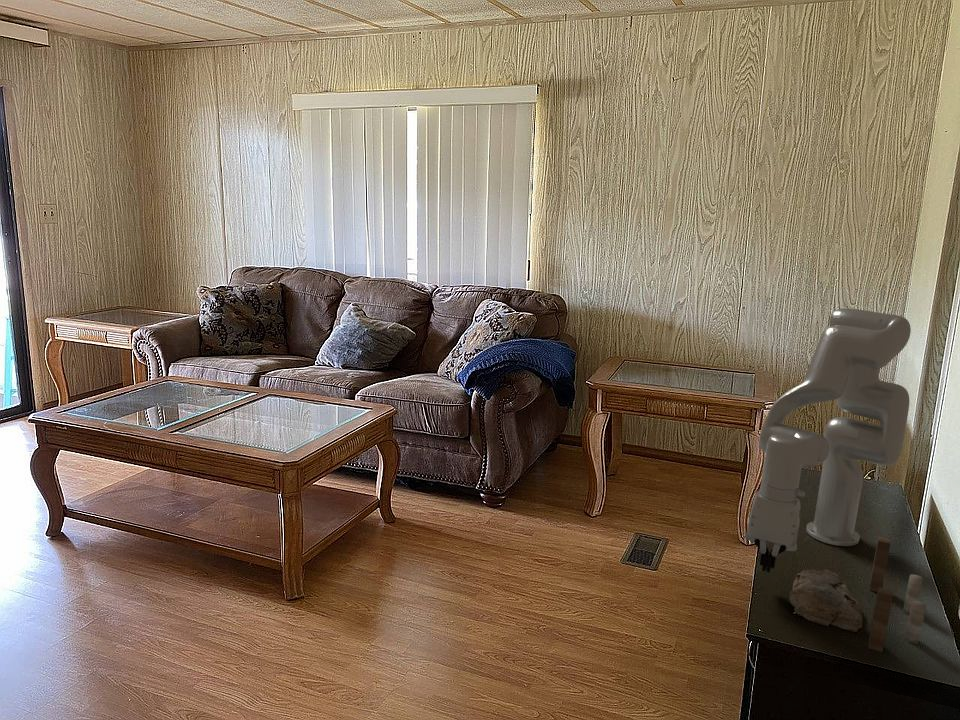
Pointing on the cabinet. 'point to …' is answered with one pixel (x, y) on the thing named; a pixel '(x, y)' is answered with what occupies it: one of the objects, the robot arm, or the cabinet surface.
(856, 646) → the cabinet surface
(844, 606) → the clay tablet
